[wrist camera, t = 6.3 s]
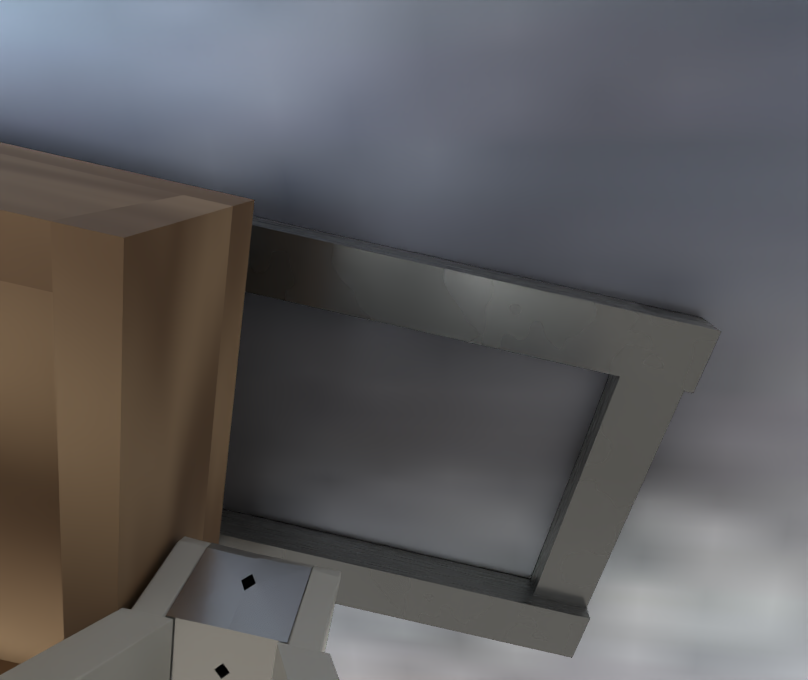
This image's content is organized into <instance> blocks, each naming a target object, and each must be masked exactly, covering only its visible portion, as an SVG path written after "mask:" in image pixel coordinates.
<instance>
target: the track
mask: <svg viewBox="0 0 808 680" xmlns="http://www.w3.org/2000/svg"><path fill="white" fill-rule="evenodd" d="M245 292H250V293H254V294H258V295H263V296H267V297H272V298H276V299H281V300H285V301H289V302H294V303H298V304H303V305H307V306H311V307H316V308H320V309H325V310H329V311H333V312H338V313H342V314H347V315H351V316H355V317H360V318H364V319H369V320H373V321H377V322H382V323H386V324H391V325H395V326H399V327H404V328H408V329H413V330H417V331H421V332H426V333H430V334H435V335H439V336H443V337H448V338H452V339H457V340H461V341H466V342H470V343H474V344H479V345H483V346H488V347H492V348H496V349H501V350H505V351H510V352H514V353H518V354H523V355H527V356H532V357H536V358H540V359H545V360H549V361H554V362H558V363H562V364H567V365H571V366H576V367H580V368H584V369H589V370H593V371H598V372H602V373H606V374H610V376H609V379H608V381H607V384H606V387H605V389H604V392H603V394H602V397H601V399H600V402H599V405H598V407H597V410H596V412H595V415H594V418H593V420H592V423H591V425H590V428H589V430H588V433H587V436H586V438H585V441H584V443H583V446H582V448H581V451H580V454H579V456H578V459H577V461H576V464H575V466H574V469H573V472H572V474H571V477H570V479H569V482H568V484H567V487H566V490H565V492H564V495H563V497H562V500H561V503H560V505H559V508H558V510H557V513H556V515H555V518H554V521H553V523H552V526H551V528H550V531H549V533H548V536H547V539H546V541H545V544H544V546H543V549H542V551H541V554H540V557H539V559H538V562H537V564H536V567H535V570H534V572H533V575H532V577H531V580H530V579H526V578H521V577H517V576H513V575H508V574H504V573H500V572H495V571H491V570H486V569H482V568H478V567H473V566H469V565H465V564H460V563H456V562H451V561H447V560H443V559H438V558H434V557H430V556H425V555H421V554H416V553H412V552H408V551H403V550H399V549H394V548H390V547H386V546H381V545H377V544H373V543H368V542H364V541H359V540H355V539H351V538H346V537H342V536H338V535H333V534H329V533H324V532H320V531H316V530H311V529H307V528H303V527H298V526H294V525H289V524H285V523H281V522H276V521H272V520H268V519H263V518H259V517H254V516H250V515H246V514H241V513H237V512H233V511H228V510H224V509H222V516H221V526H220V536H219V544H220V545H224V546H228V547H232V548H236V549H240V550H244V551H248V552H252V553H256V554H260V555H261V554H262V555H266V556H271V557H276V558H281V559H285V560H290V561H295V562H300V563H304V564H309V565H314V566H319V567H324V568H328V569H333V570H338V571H341V578H340V583H339V587H338V592H337V597H336V602H335V604H340V605H344V606H348V607H353V608H357V609H362V610H366V611H370V612H375V613H379V614H383V615H388V616H392V617H397V618H401V619H405V620H410V621H414V622H418V623H423V624H427V625H431V626H436V627H440V628H445V629H449V630H453V631H458V632H462V633H466V634H471V635H475V636H480V637H484V638H488V639H493V640H497V641H501V642H506V643H510V644H514V645H519V646H523V647H528V648H532V649H536V650H541V651H545V652H549V653H554V654H558V655H563V656H567V657H571V658H572V657H573V655H574V653H575V650H576V648H577V646H578V644H579V642H580V639H581V637H582V635H583V633H584V631H585V628H586V626H587V624H588V622H589V620H590V617H589V614H588V611H587V605H588V603H589V601H590V599H591V596H592V594H593V592H594V590H595V588H596V585H597V583H598V581H599V579H600V576H601V574H602V572H603V570H604V568H605V565H606V563H607V561H608V559H609V556H610V554H611V552H612V550H613V548H614V545H615V543H616V541H617V539H618V536H619V534H620V532H621V530H622V527H623V525H624V523H625V521H626V519H627V516H628V514H629V512H630V510H631V507H632V505H633V503H634V501H635V499H636V496H637V494H638V492H639V490H640V487H641V485H642V483H643V481H644V479H645V476H646V474H647V472H648V470H649V467H650V465H651V463H652V461H653V459H654V456H655V454H656V452H657V450H658V447H659V445H660V443H661V441H662V439H663V436H664V434H665V432H666V430H667V427H668V425H669V423H670V421H671V419H672V416H673V414H674V412H675V410H676V407H677V405H678V403H679V401H680V398H681V396H682V394H683V392H684V391H686V392H690V393H693V392H694V390H695V388H696V386H697V384H698V381H699V379H700V377H701V375H702V373H703V371H704V368H705V366H706V364H707V362H708V360H709V357H710V355H711V353H712V351H713V349H714V347H715V344H716V342H717V340H718V338H719V336H720V333H721V331H720V330H719V329H717V328H716V327H714V326H713V325H712V324H710V323H709V322H707V321H706V320H704V319H703V318H701V317H696V316H692V315H688V314H683V313H679V312H674V311H670V310H666V309H661V308H657V307H652V306H648V305H643V304H639V303H635V302H630V301H626V300H621V299H617V298H613V297H608V296H604V295H599V294H595V293H591V292H586V291H582V290H577V289H573V288H568V287H564V286H560V285H555V284H551V283H546V282H542V281H538V280H533V279H529V278H524V277H520V276H515V275H511V274H507V273H502V272H498V271H493V270H489V269H485V268H480V267H476V266H471V265H467V264H462V263H458V262H454V261H449V260H445V259H440V258H436V257H432V256H427V255H423V254H418V253H414V252H410V251H405V250H401V249H396V248H392V247H387V246H383V245H379V244H374V243H370V242H365V241H361V240H357V239H352V238H348V237H343V236H339V235H334V234H330V233H326V232H321V231H317V230H312V229H308V228H304V227H299V226H295V225H290V224H286V223H282V222H277V221H273V220H268V219H264V218H259V217H255V216H253V220H252V229H251V239H250V249H249V258H248V268H247V277H246V287H245Z"/></svg>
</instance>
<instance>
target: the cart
mask: <svg viewBox="0 0 808 680" xmlns="http://www.w3.org/2000/svg"><path fill="white" fill-rule="evenodd" d="M254 201H255V200H253V199H249V198H244V197H240V196H235V195H231V194H227V193H222V192H218V191H213V190H209V189H204V188H200V187H196V186H191V185H187V184H182V183H178V182H174V181H169V180H165V179H160V178H156V177H151V176H147V175H143V174H138V173H134V172H129V171H125V170H121V169H116V168H112V167H107V166H103V165H98V164H94V163H90V162H85V161H81V160H76V159H72V158H68V157H63V156H59V155H54V154H50V153H45V152H41V151H37V150H32V149H28V148H23V147H19V146H15V145H10V144H6V143H1V142H0V675H1V674H3V673H5V672H7V671H8V670H10V669H12V668H14V667H16V666H17V665H19V664H21V663H23V662H25V661H27V660H28V659H30V658H32V657H34V656H36V655H37V654H39V653H41V652H43V651H45V650H46V649H48V648H50V647H52V646H54V645H56V644H57V643H59V642H61V641H63V640H65V639H66V638H68V637H70V636H72V635H74V634H75V633H77V632H79V631H81V630H83V629H85V628H86V627H88V626H90V625H92V624H94V623H95V622H97V621H99V620H101V619H103V618H104V617H106V616H108V615H110V614H112V613H113V612H115V611H118V610H119V609H121V608H126V609H132V607H133V606H134V604H135V603H136V601H137V600H138V598H139V597H140V595H141V594H142V593H143V591H144V590H145V588H146V587H147V585H148V584H149V582H150V581H151V579H152V578H153V577H154V575H155V574H156V572H157V571H158V569H159V568H160V566H161V565H162V564H163V562H164V561H165V559H166V558H167V556H168V555H169V553H170V552H171V550H172V549H173V548H174V546H175V545H176V543H177V542H178V541H179V540H181V539H182V538H183V537H189V538H193V539H197V540H201V541H205V542H209V543H216V544H219V536H220V526H221V516H222V507H223V497H224V488H225V478H226V469H227V459H228V450H229V440H230V430H231V421H232V411H233V402H234V392H235V383H236V373H237V363H238V354H239V344H240V335H241V325H242V316H243V306H244V296H245V287H246V277H247V268H248V258H249V249H250V239H251V229H252V220H253V210H254Z"/></svg>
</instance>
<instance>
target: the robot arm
mask: <svg viewBox="0 0 808 680" xmlns="http://www.w3.org/2000/svg"><path fill="white" fill-rule="evenodd" d="M340 578H341V571H338V570H333V569H328V568H324V567H319V566H314V565H309V564H304V563H300V562H295V561H290V560H285V559H281V558H276V557H271V556H266V555H262V554H261V555H260V554H256V553H252V552H248V551H244V550H240V549H236V548H232V547H228V546H224V545H220V544H216V543H209V542H205V541H201V540H197V539H193V538H189V537H183V538H182V539H181V540H179V541H178V542H177V543H176V545H175V546H174V548H173V549H172V550H171V552H170V553H169V555H168V556H167V558H166V559H165V561H164V562H163V564H162V565H161V566H160V568H159V569H158V571H157V572H156V574H155V575H154V577H153V578H152V579H151V581H150V582H149V584H148V585H147V587H146V588H145V590H144V591H143V593H142V594H141V595H140V597H139V598H138V600H137V601H136V603H135V604H134V606H133V607H132V609H126V608H121V609H119V610H118V611H115V612H113V613H112V614H110V615H108V616H106V617H104V618H103V619H101V620H99V621H97V622H95V623H94V624H92V625H90V626H88V627H86V628H85V629H83V630H81V631H79V632H77V633H75V634H74V635H72V636H70V637H68V638H66V639H65V640H63V641H61V642H59V643H57V644H56V645H54V646H52V647H50V648H48V649H46V650H45V651H43V652H41V653H39V654H37V655H36V656H34V657H32V658H30V659H28V660H27V661H25V662H23V663H21V664H19V665H17V666H16V667H14V668H12V669H10V670H8V671H7V672H5V673H3V674H1V675H0V680H339V677H338V675H337V672H336V669H335V667H334V664H333V661H332V658H331V656H330V654H328V653H325V649H326V645H327V640H328V635H329V630H330V626H331V621H332V616H333V611H334V607H335V602H336V597H337V592H338V587H339V583H340Z"/></svg>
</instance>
